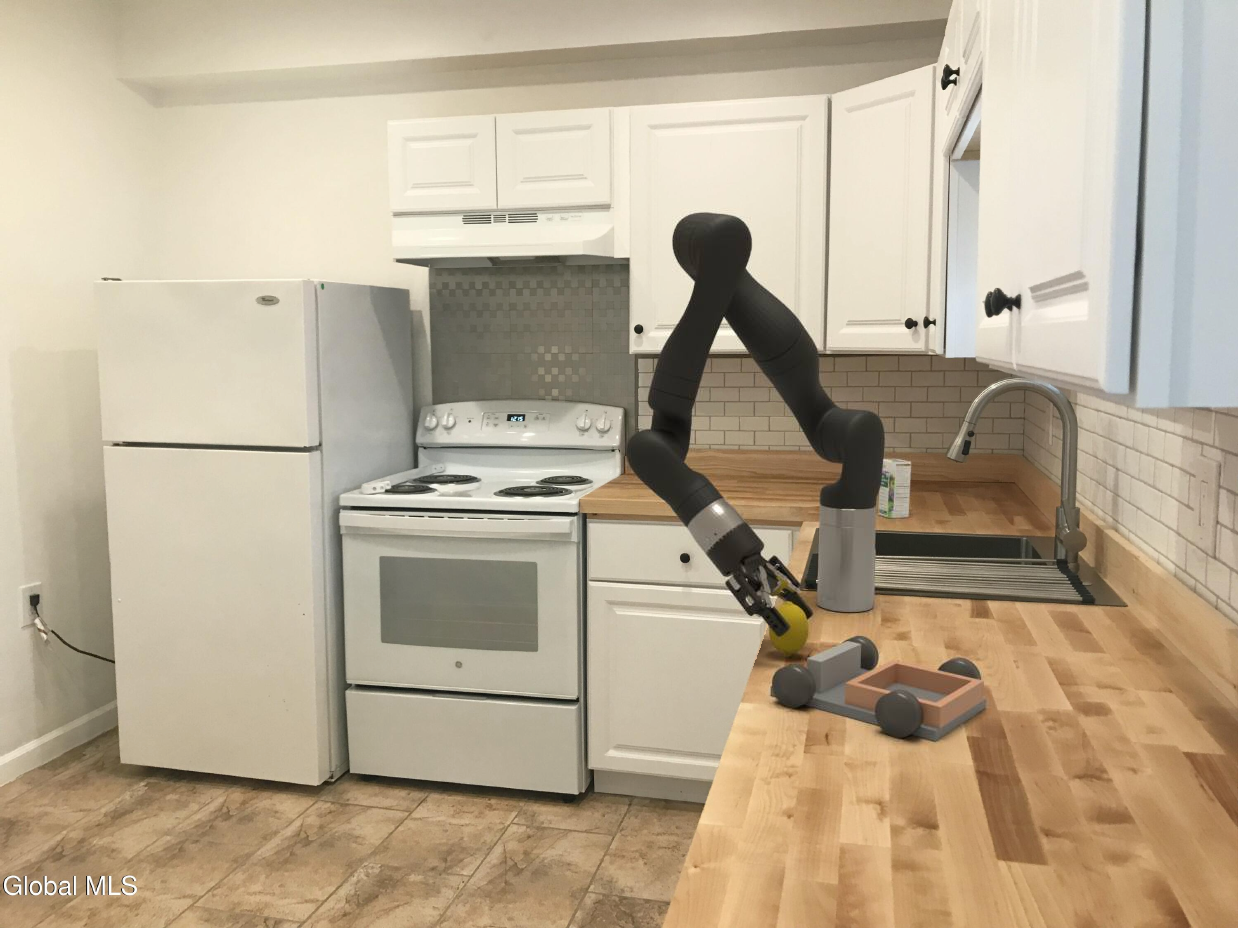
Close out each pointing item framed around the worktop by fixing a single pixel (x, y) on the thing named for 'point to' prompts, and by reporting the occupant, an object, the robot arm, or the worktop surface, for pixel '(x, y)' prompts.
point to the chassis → (884, 690)
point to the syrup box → (895, 488)
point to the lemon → (791, 630)
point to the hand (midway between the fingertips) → (797, 625)
